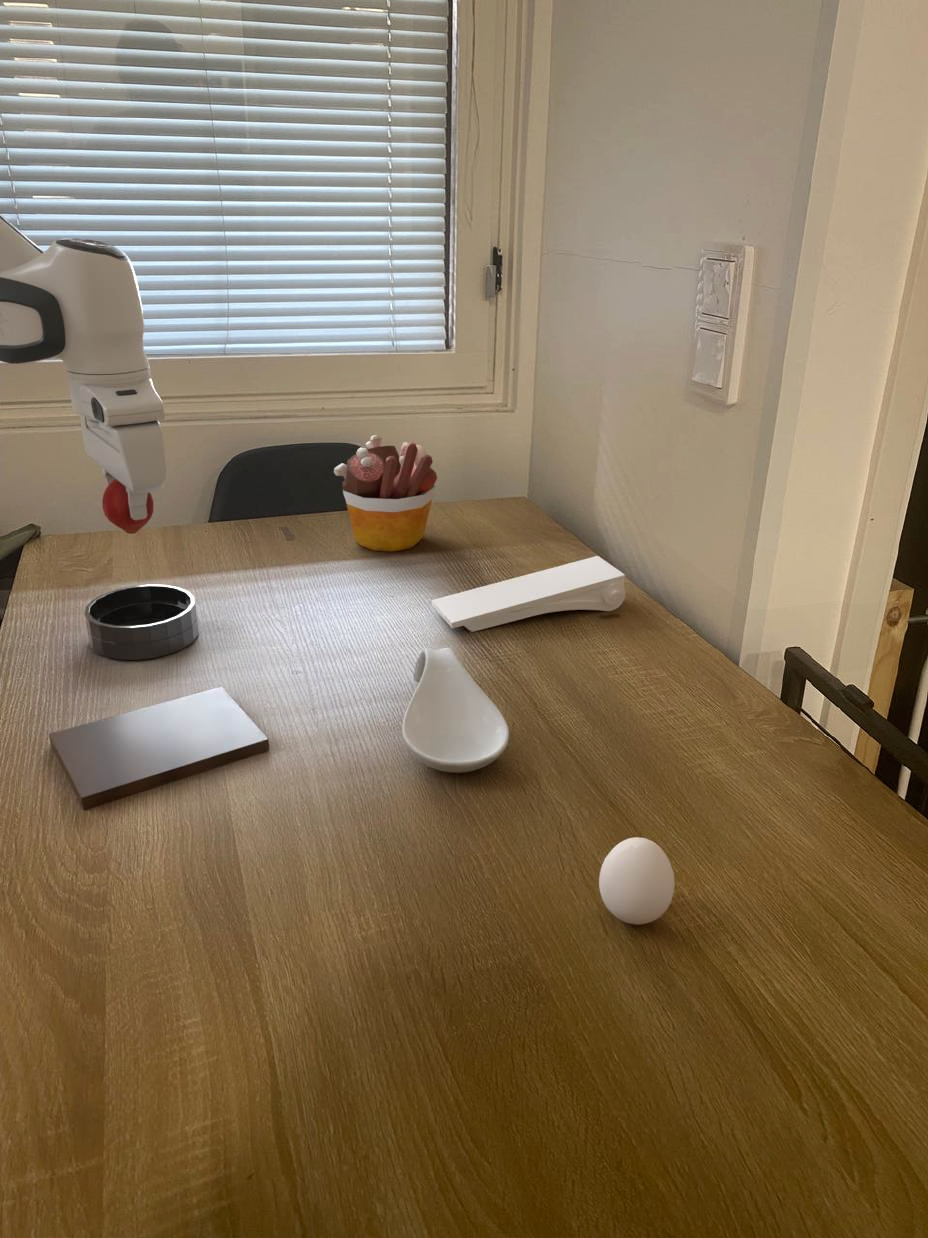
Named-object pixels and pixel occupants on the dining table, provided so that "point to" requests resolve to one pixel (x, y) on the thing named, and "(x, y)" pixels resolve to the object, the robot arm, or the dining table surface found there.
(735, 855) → the dining table surface
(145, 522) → the onion
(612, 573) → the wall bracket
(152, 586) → the pan
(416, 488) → the bucket of meat
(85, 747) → the board
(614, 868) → the egg
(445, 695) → the spoon rest
